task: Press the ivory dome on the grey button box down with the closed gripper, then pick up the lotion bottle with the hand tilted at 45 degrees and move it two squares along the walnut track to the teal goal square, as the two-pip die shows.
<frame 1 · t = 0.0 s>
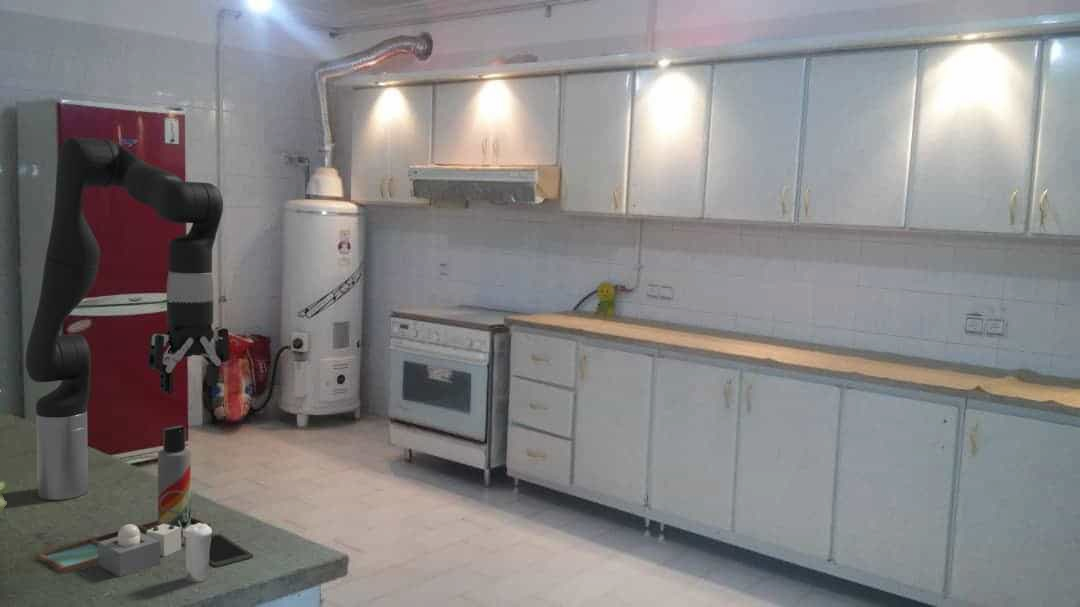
hand: (189, 389, 154), 29 cm above the counter, tool pointing down, fingers open, 8 cm apart
milkshake: (194, 579, 146), on the counter
track: (128, 542, 160), on the counter
button box: (129, 564, 151), on the counter
die: (163, 550, 157), on the counter
cell phone: (217, 553, 158), on the counter
dome: (129, 538, 150), point 5 cm above the counter, slide at 0.0 cm
lotion bottle: (174, 530, 167), on the counter
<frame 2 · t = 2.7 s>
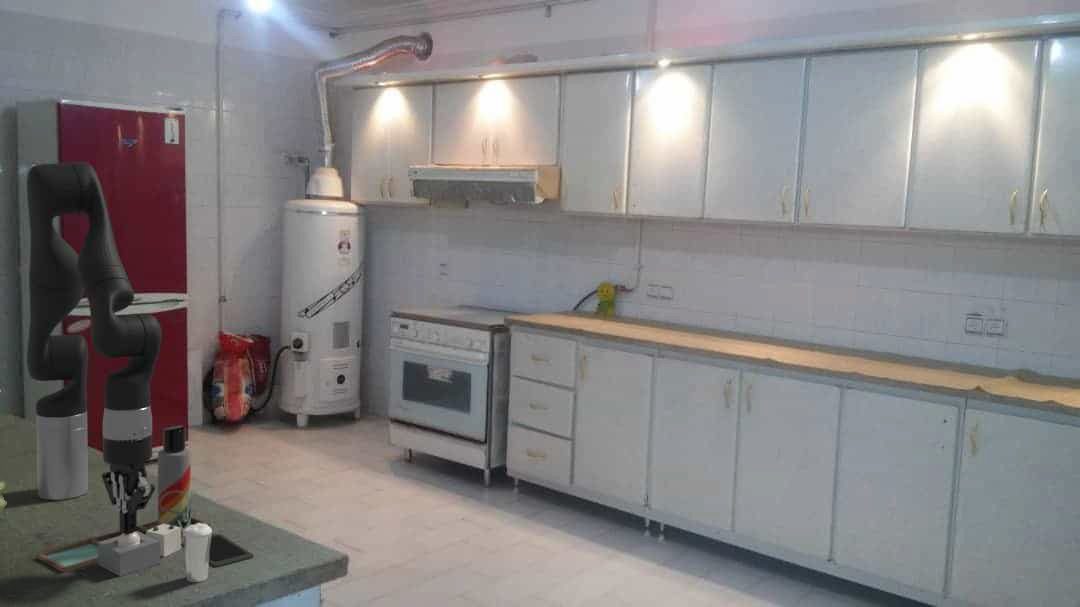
hand: (128, 532, 150), 6 cm above the counter, tool pointing down, fingers closed
dome: (129, 544, 150), point 3 cm above the counter, slide at 1.2 cm, touching gripper
everything else where it was.
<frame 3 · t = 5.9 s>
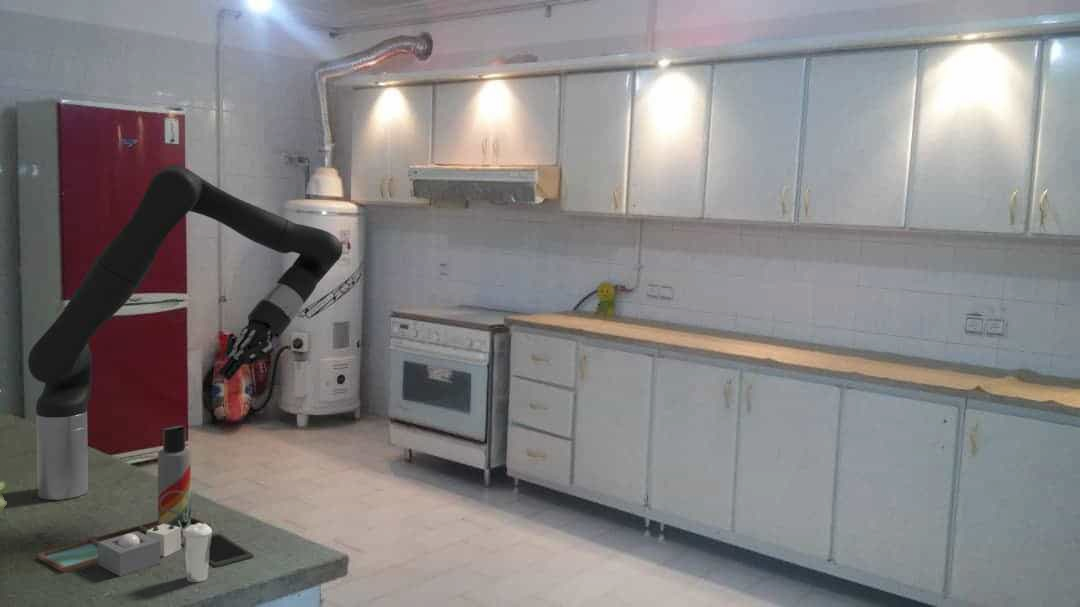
hand: (223, 377, 172), 28 cm above the counter, tool tilted 45°, fingers closed
dome: (129, 547, 150), point 3 cm above the counter, slide at 1.7 cm
everything else where it was.
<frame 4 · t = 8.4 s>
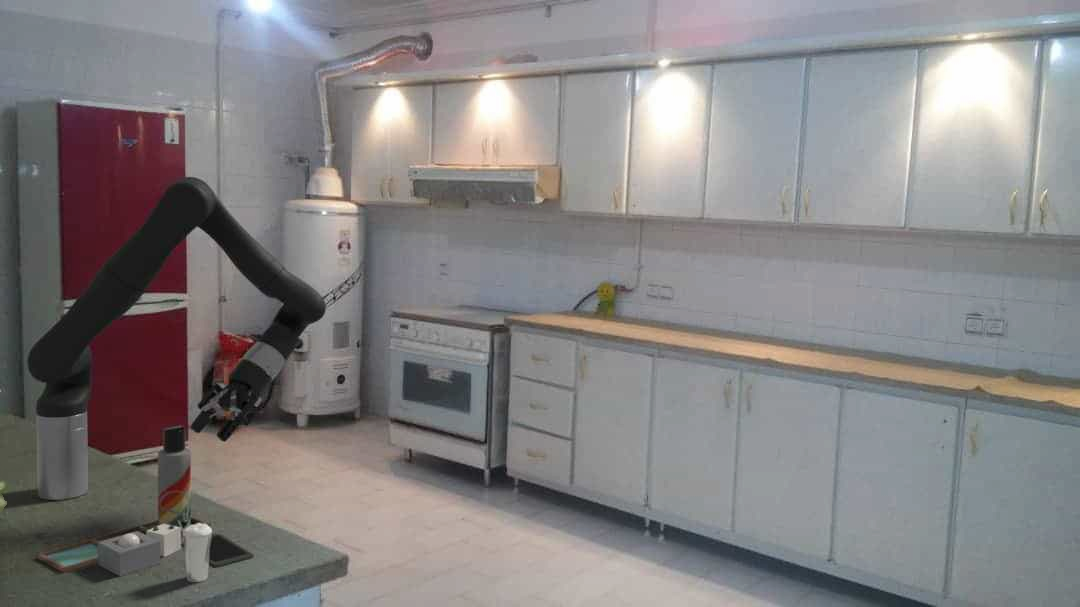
hand: (207, 434, 171), 17 cm above the counter, tool tilted 45°, fingers open, 8 cm apart
nothing on the counter moved.
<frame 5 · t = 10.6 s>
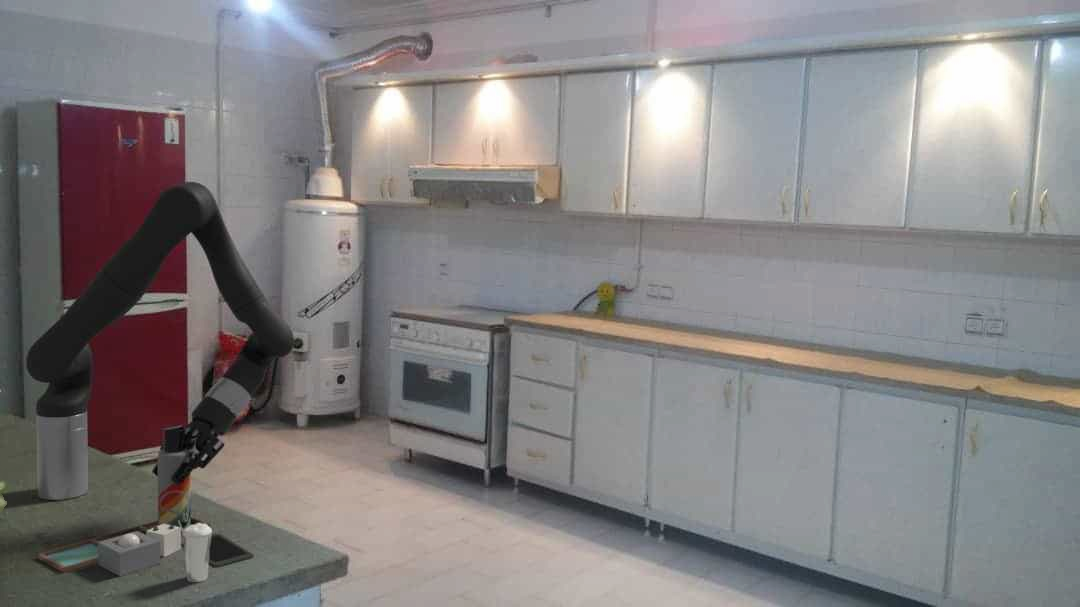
hand: (165, 478, 164), 10 cm above the counter, tool tilted 45°, fingers closed on lotion bottle, 5 cm apart
lotion bottle: (174, 530, 167), on the counter, touching gripper
everything else where it was.
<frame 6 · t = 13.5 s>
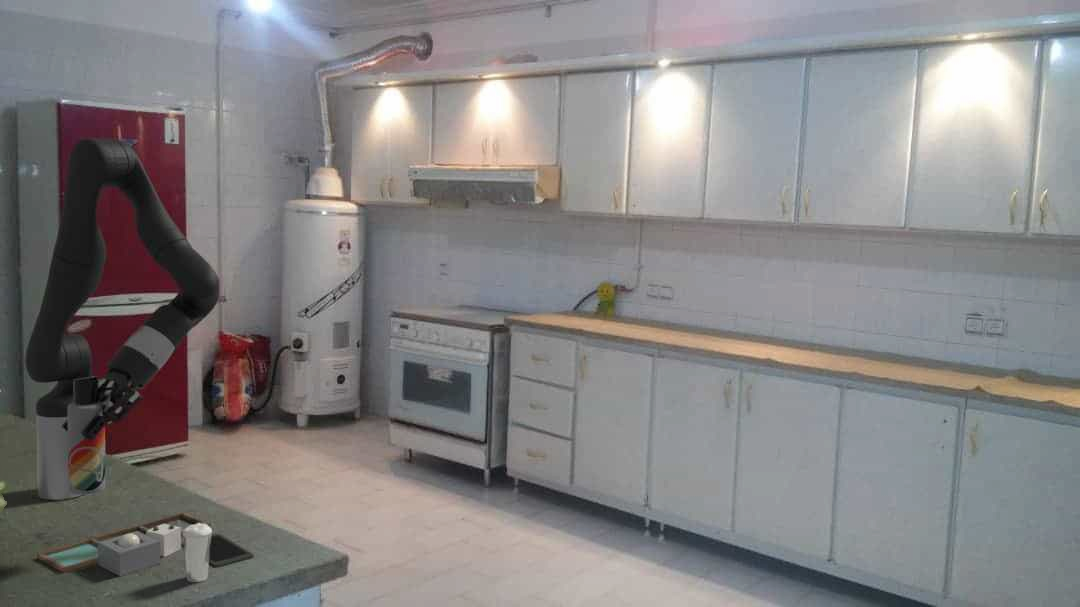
hand: (76, 433, 150), 22 cm above the counter, tool tilted 45°, fingers closed on lotion bottle, 5 cm apart
lotion bottle: (87, 490, 152), point 11 cm above the counter, touching gripper
everything else where it was.
when the fingers open (11 cm above the counter, at t = 16.3 s): lotion bottle stays where it is, resting on track.
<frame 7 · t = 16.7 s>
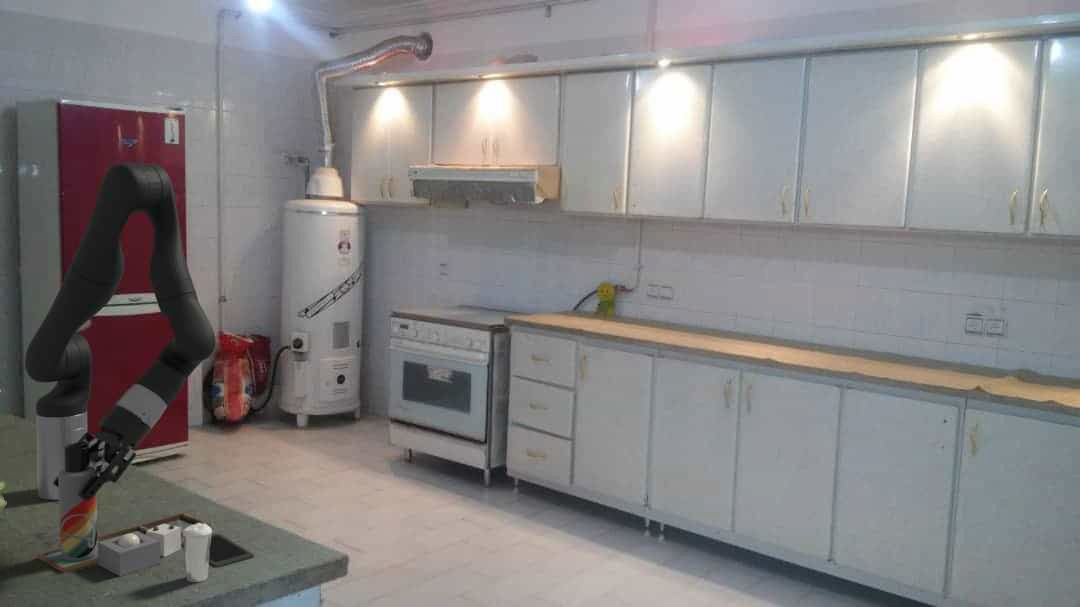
hand: (70, 492, 150), 12 cm above the counter, tool tilted 45°, fingers open, 8 cm apart
lotion bottle: (79, 556, 153), resting on track
everything else where it was.
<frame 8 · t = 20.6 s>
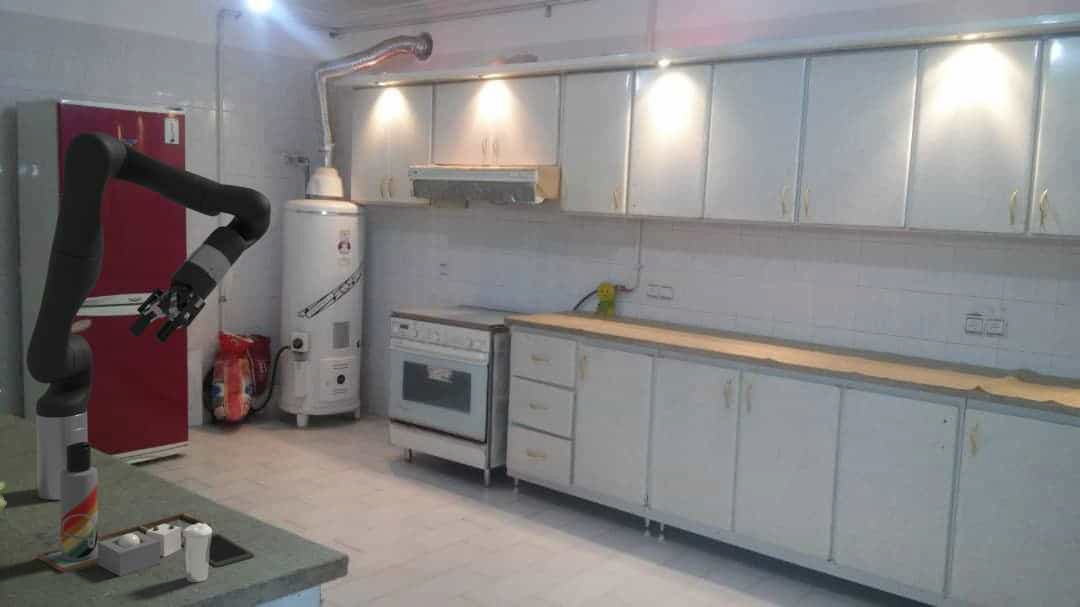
hand: (145, 337, 163), 37 cm above the counter, tool tilted 45°, fingers open, 8 cm apart
nothing on the counter moved.
at the end: lotion bottle inside the target area (0.2 cm from its centre), on the counter; lotion bottle tilted 0°; dome slide at 1.7 cm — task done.
